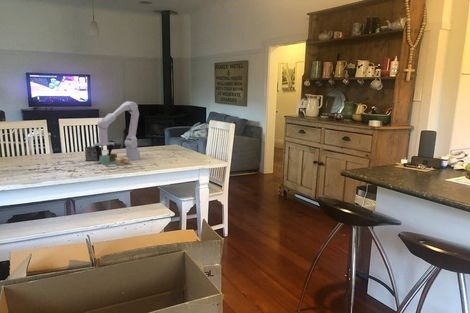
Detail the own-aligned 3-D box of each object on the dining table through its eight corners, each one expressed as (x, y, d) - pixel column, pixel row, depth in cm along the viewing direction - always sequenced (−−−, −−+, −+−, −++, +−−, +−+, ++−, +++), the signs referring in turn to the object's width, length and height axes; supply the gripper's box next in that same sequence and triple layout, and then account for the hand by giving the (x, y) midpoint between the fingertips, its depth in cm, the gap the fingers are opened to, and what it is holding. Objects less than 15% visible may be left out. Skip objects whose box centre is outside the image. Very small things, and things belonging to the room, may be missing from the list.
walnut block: (114, 160, 270) (114, 153, 269) (117, 161, 265) (116, 154, 264) (107, 160, 267) (107, 153, 266) (109, 162, 262) (109, 154, 261)
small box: (102, 160, 268) (102, 146, 266) (97, 162, 261) (96, 148, 259) (90, 159, 270) (90, 145, 268) (85, 161, 264) (84, 147, 262)
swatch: (114, 164, 251) (114, 164, 251) (116, 166, 247) (116, 165, 247) (107, 165, 248) (107, 165, 248) (109, 166, 244) (109, 166, 244)
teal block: (107, 162, 262) (107, 155, 261) (109, 163, 257) (109, 156, 256) (99, 163, 259) (99, 155, 257) (102, 164, 254) (101, 157, 253)
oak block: (125, 162, 259) (125, 157, 258) (128, 164, 254) (128, 158, 253) (115, 163, 255) (115, 158, 254) (118, 165, 250) (118, 159, 249)
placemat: (126, 161, 264) (126, 161, 264) (133, 165, 253) (133, 164, 253) (101, 164, 254) (101, 163, 254) (107, 168, 243) (107, 167, 243)
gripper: (111, 135, 262) (112, 153, 264) (91, 136, 253) (92, 155, 256) (114, 136, 256) (115, 155, 259) (94, 138, 248) (95, 157, 250)
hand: (104, 155), depth 257 cm, fingers open, 7 cm apart
